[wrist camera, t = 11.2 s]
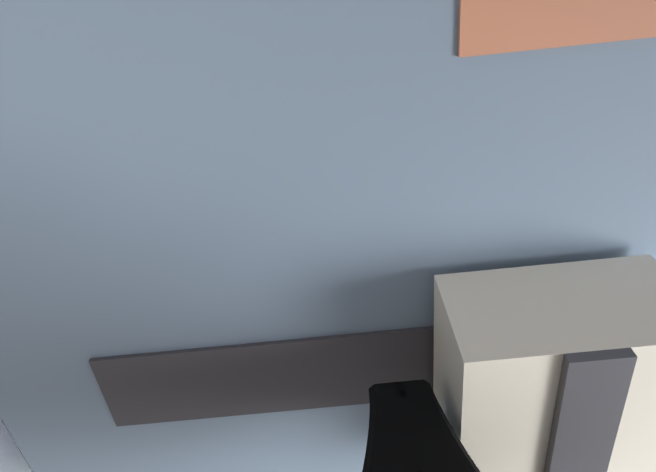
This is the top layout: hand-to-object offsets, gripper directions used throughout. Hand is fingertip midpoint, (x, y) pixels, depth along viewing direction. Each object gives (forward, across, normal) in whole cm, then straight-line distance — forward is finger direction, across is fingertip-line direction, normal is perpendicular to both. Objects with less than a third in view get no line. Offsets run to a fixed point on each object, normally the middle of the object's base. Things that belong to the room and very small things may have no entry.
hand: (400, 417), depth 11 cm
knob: (+1, -3, 0) cm, 3 cm away
